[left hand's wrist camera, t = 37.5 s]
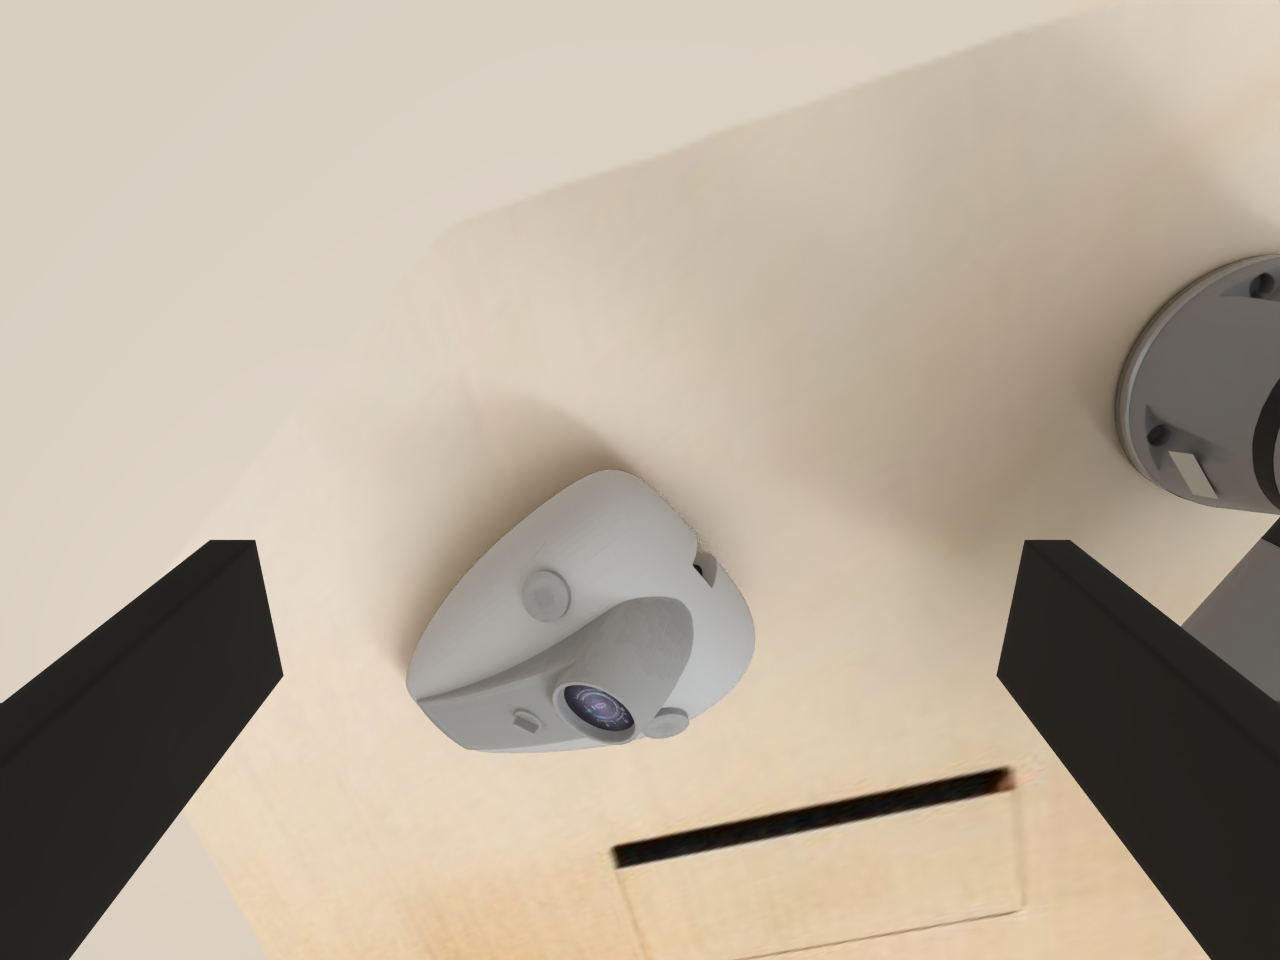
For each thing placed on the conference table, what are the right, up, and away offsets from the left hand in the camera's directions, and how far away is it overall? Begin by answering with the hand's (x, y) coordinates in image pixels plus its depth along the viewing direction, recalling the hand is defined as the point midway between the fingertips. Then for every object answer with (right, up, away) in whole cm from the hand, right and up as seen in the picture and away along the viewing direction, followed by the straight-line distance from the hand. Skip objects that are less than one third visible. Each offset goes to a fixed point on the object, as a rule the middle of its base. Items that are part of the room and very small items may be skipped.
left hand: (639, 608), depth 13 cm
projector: (-5, -7, +38) cm, 39 cm away
